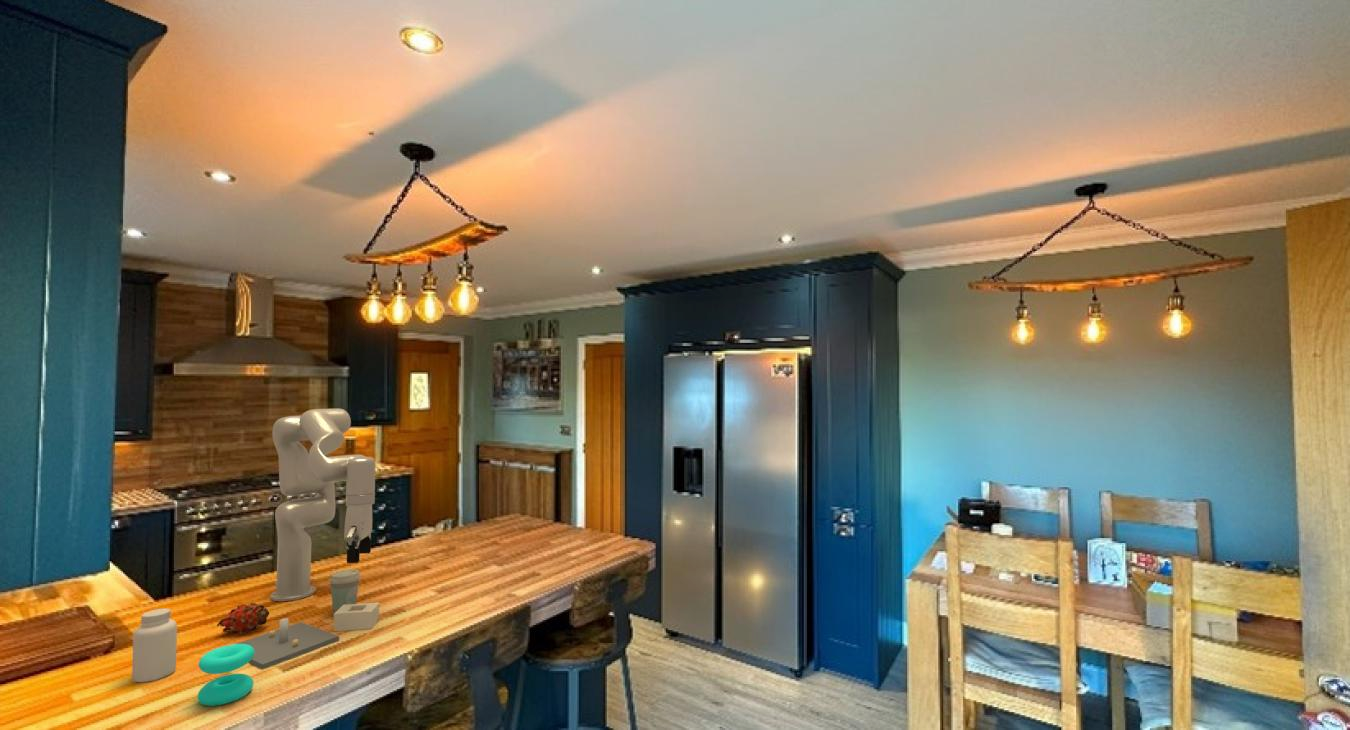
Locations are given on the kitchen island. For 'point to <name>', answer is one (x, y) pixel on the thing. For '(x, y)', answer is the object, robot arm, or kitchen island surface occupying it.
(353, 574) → the coffee cup
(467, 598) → the kitchen island surface
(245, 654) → the donuts
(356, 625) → the flange block
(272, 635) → the pin plate
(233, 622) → the dragon fruit
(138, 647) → the pill bottle
